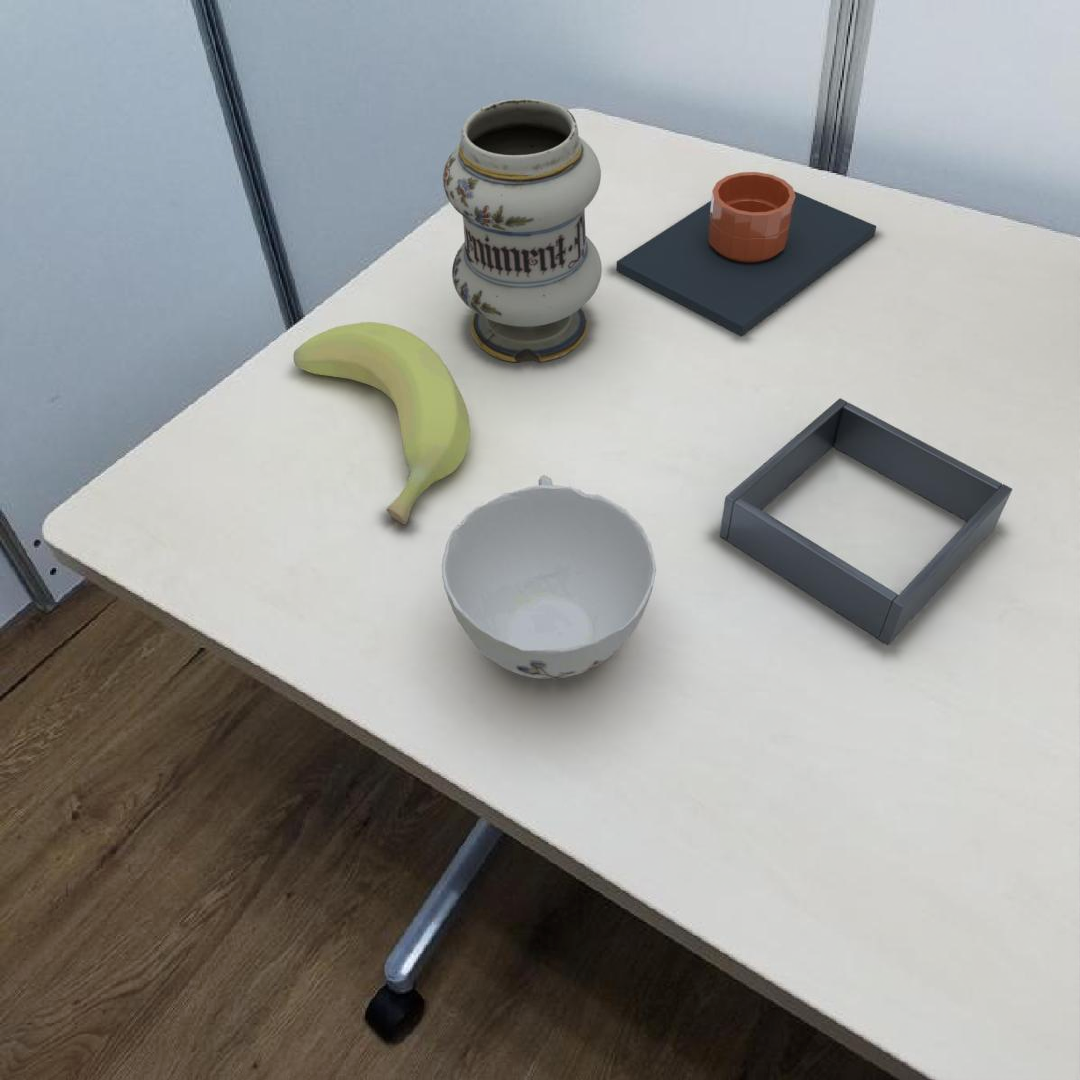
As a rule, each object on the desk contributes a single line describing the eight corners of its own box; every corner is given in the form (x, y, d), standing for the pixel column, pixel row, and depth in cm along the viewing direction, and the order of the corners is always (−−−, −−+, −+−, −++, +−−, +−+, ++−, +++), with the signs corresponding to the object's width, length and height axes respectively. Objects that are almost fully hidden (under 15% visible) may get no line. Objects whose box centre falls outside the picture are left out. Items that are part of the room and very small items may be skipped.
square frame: (829, 437, 76) (840, 397, 73) (994, 528, 70) (1013, 488, 67) (719, 536, 70) (724, 496, 67) (887, 645, 64) (902, 607, 61)
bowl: (739, 213, 95) (745, 163, 91) (801, 241, 91) (811, 190, 88) (691, 245, 92) (696, 194, 88) (754, 275, 88) (762, 224, 84)
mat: (751, 182, 100) (752, 173, 99) (874, 235, 93) (876, 225, 93) (616, 270, 91) (616, 261, 90) (741, 336, 84) (742, 326, 84)
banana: (438, 276, 79) (460, 479, 68) (462, 324, 84) (487, 522, 72) (279, 327, 81) (275, 531, 70) (311, 371, 86) (312, 570, 75)
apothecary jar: (462, 379, 82) (437, 173, 68) (456, 291, 90) (433, 90, 76) (610, 366, 82) (615, 159, 69) (591, 279, 90) (592, 78, 77)
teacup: (657, 721, 61) (665, 644, 55) (450, 727, 61) (435, 651, 55) (638, 532, 71) (643, 450, 65) (459, 538, 71) (448, 456, 65)
